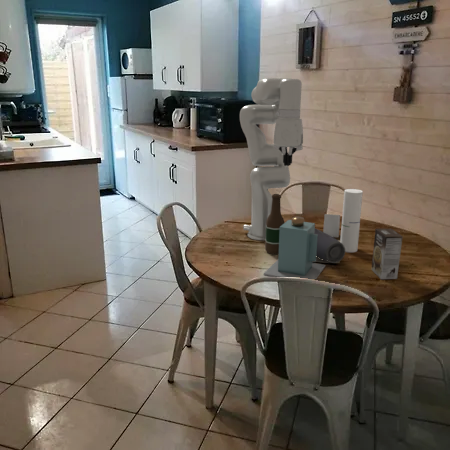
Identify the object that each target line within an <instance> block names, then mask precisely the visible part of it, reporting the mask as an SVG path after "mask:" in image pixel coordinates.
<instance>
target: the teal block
mask: <svg viewBox="0 0 450 450" xmlns="http://www.w3.org/2000/svg"><path fill="white" fill-rule="evenodd" d="M284 222H285V223H284V224H283V225H282V226H280V232H279V254H278V257H277V258H278V259H276V261H275V262H273V264H272V265H271V266H270V267H269V268H267V269H266V271H265V272H263V275H264V276H267V277H272V278H277V277H300V278H308V279H316V280H317V279H318V277H319V276H320V274H321V273H322V272H323V270H324V269H325V268H326V264H322V263H316V262H317V257H316V255H317V240H318V234H314V231H315V227H316V223H314V222H307V221H304V225H303V226H299V227H298V226H293V225H291V222H292V219H287V220H286V221H284Z"/></svg>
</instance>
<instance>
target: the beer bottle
mask: <svg viewBox="0 0 450 450" xmlns="http://www.w3.org/2000/svg"><path fill="white" fill-rule="evenodd" d="M271 195H272V207H271V213H270V215H269V216H268V218H267V220H266V238H265V240H264V241H265V242H264V243H265V244H264V246H265V247H264V248H265V251H266V253H267V254H270V255H279V232H280V226H282V225H283V224H284V223H285V222H286V221H285V219H284V217H283V215H282V211H281V198H282V197H281V194H279V193H274V194H271Z"/></svg>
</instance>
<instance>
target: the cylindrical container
mask: <svg viewBox="0 0 450 450" xmlns="http://www.w3.org/2000/svg"><path fill="white" fill-rule="evenodd" d="M363 193H364V191H363V190H361V189H355V188H349V189H348V188H347V189H344V192H343V204H342V215H341V216H342V218H341V227H340V228H341V230H340V241H339V242H340V243H342V244H343V245H344V247H345V253H356V252H358V248H359V247H358V246H359V237H360V226H361V225H360V224H361V214H362V203H363Z"/></svg>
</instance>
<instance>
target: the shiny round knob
mask: <svg viewBox="0 0 450 450" xmlns="http://www.w3.org/2000/svg"><path fill="white" fill-rule="evenodd" d="M291 220H292V222H291V225H293V226H298V227H299V226H303V225H304V222H305V217H303V216H292V217H291Z"/></svg>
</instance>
